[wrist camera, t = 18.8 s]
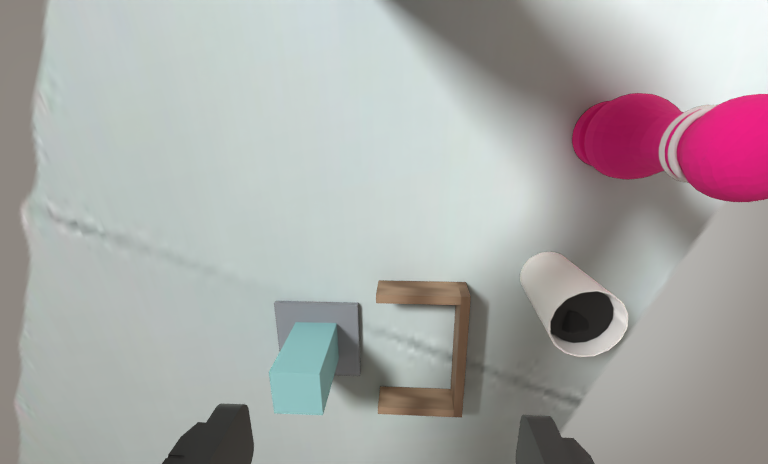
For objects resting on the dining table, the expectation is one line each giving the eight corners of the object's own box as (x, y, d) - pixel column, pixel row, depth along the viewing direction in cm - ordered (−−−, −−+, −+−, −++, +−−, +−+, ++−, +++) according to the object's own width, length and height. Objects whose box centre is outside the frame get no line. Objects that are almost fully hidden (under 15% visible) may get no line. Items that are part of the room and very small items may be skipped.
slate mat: (283, 369, 47) (282, 373, 47) (275, 300, 44) (274, 303, 44) (360, 372, 47) (359, 375, 46) (358, 302, 43) (357, 305, 43)
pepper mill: (609, 184, 37) (816, 257, 18) (551, 148, 37) (704, 186, 18) (659, 119, 35) (953, 127, 16) (598, 80, 35) (831, 41, 16)
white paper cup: (569, 304, 42) (617, 360, 32) (511, 299, 42) (541, 353, 33) (583, 250, 40) (638, 293, 30) (521, 245, 40) (556, 286, 31)
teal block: (299, 357, 46) (274, 413, 37) (295, 322, 44) (268, 372, 36) (338, 358, 45) (322, 415, 37) (336, 323, 44) (319, 374, 35)
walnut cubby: (380, 392, 47) (378, 413, 44) (378, 280, 42) (376, 294, 39) (458, 395, 47) (461, 417, 43) (465, 282, 42) (470, 296, 38)
